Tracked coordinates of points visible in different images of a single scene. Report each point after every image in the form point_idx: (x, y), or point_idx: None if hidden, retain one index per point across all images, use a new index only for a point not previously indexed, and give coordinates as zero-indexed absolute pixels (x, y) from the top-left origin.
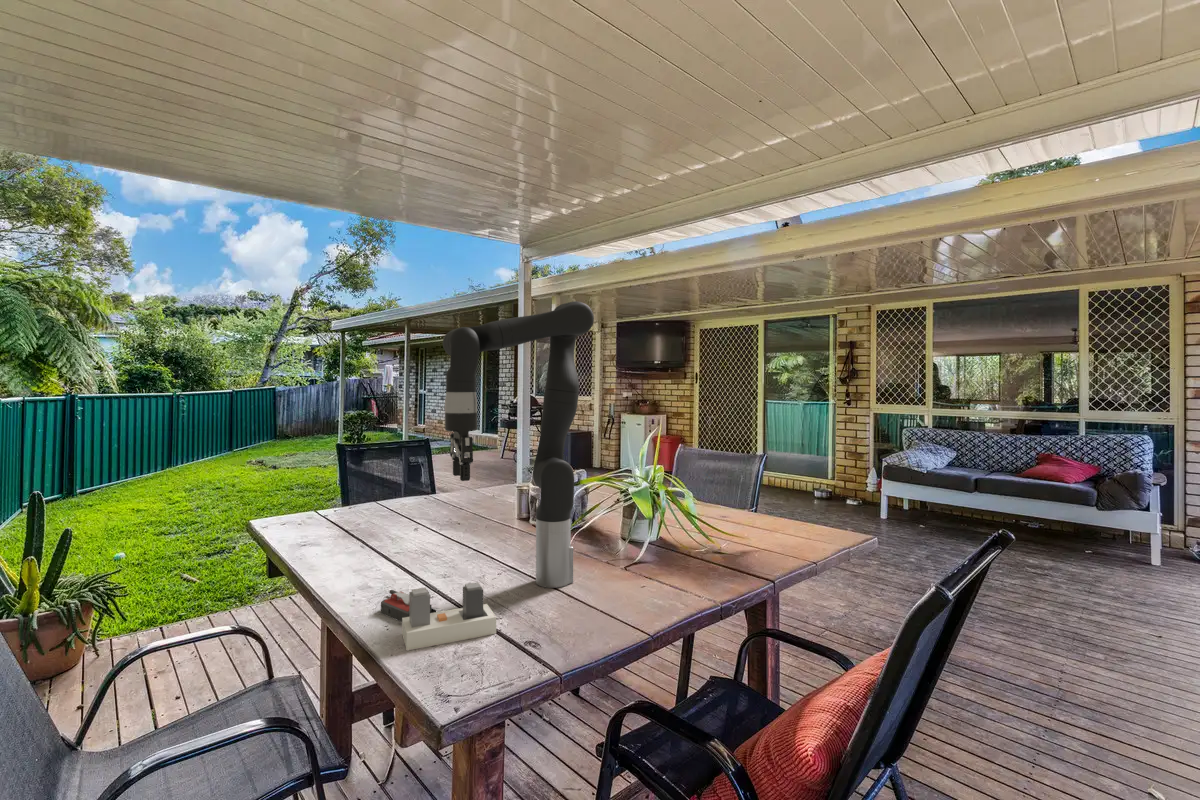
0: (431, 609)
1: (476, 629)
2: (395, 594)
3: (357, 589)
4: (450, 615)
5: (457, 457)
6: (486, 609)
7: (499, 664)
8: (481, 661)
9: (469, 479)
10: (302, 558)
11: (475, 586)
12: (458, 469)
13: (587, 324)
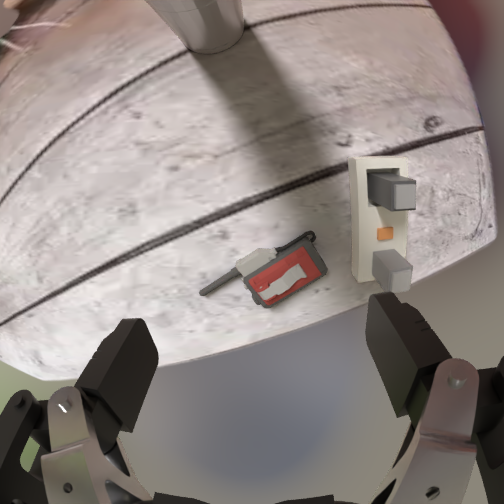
0: (303, 238)
1: None
2: (272, 296)
3: (170, 328)
4: (378, 220)
5: (103, 435)
6: (377, 164)
7: (457, 174)
8: (446, 190)
9: (391, 293)
10: (72, 368)
11: (412, 193)
12: (136, 361)
13: None
